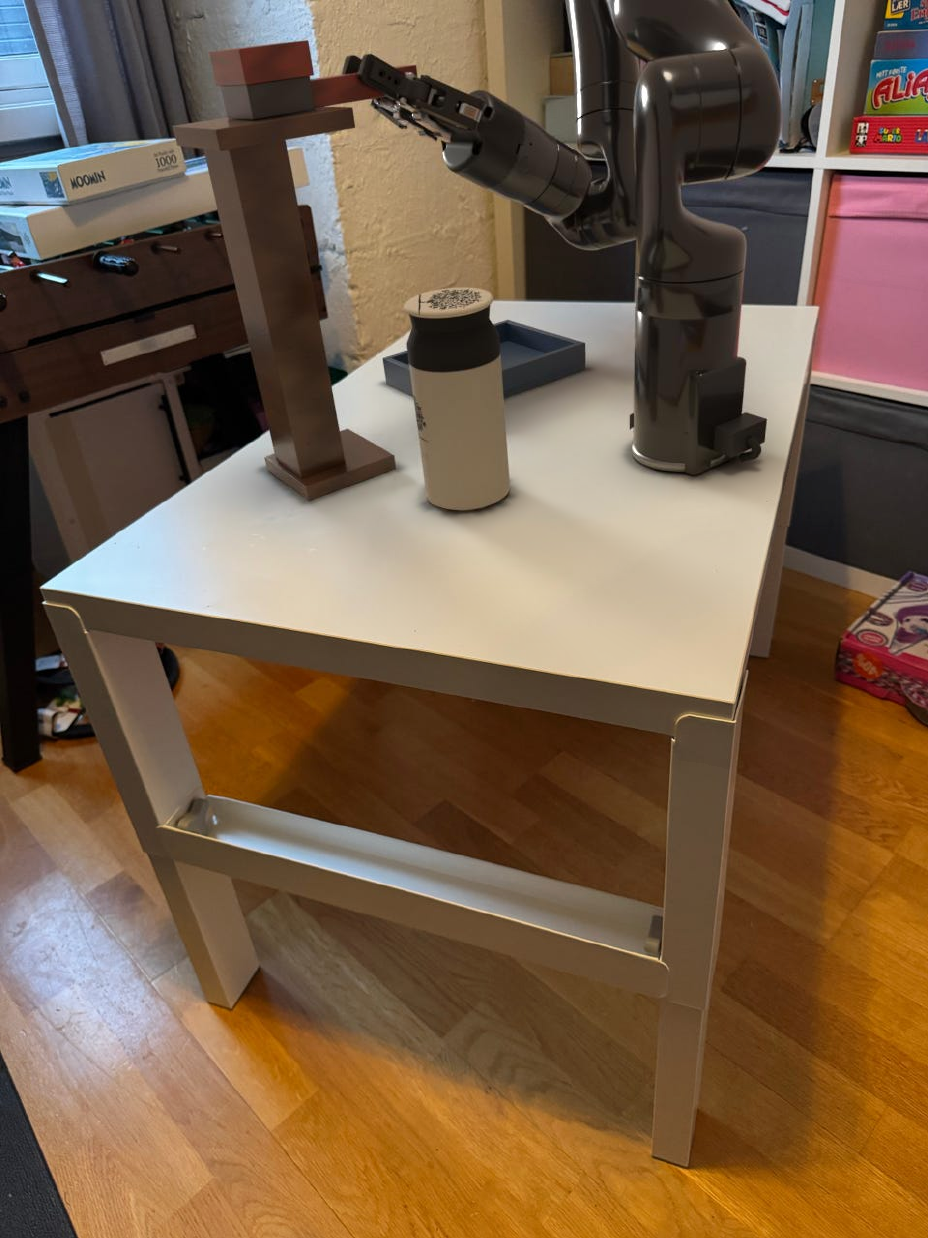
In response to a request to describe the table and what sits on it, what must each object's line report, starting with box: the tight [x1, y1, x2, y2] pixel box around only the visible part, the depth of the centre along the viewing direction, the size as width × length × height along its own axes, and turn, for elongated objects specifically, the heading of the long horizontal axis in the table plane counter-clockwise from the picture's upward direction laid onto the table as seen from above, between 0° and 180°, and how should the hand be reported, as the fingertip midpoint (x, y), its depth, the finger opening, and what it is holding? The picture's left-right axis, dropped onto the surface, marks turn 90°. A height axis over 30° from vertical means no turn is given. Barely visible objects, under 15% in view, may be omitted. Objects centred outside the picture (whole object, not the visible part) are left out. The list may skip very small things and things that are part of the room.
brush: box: [208, 39, 418, 120], centre depth 74 cm, size 17×6×5 cm, turn 125°
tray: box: [381, 319, 587, 399], centre depth 109 cm, size 16×20×3 cm
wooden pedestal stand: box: [172, 106, 397, 501], centre depth 82 cm, size 12×10×32 cm
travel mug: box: [403, 287, 511, 512], centre depth 78 cm, size 8×8×18 cm
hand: (354, 66), depth 76 cm, fingers closed on brush, 2 cm apart
